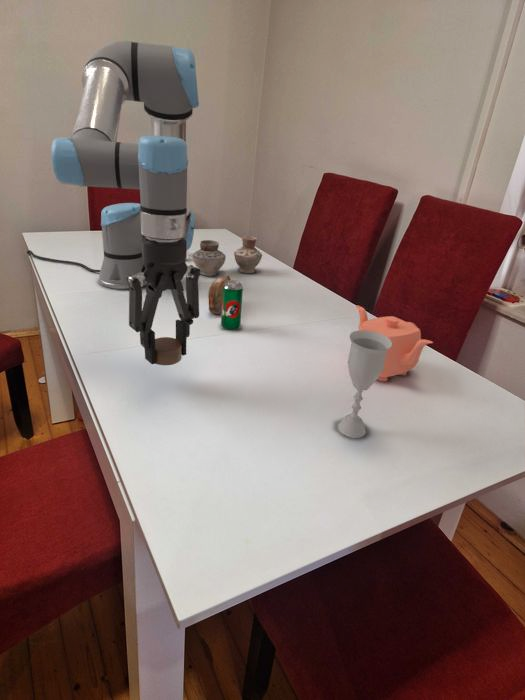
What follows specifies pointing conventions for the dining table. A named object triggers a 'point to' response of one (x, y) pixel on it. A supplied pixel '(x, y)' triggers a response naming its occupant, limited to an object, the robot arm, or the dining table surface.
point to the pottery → (214, 259)
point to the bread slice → (216, 294)
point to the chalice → (363, 374)
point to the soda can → (231, 304)
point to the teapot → (395, 342)
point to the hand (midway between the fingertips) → (166, 356)
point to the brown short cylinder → (167, 351)
